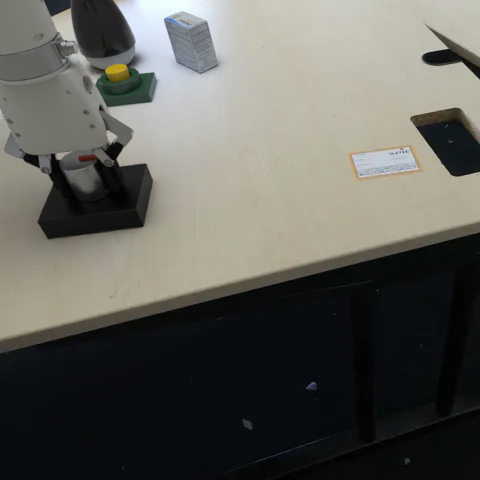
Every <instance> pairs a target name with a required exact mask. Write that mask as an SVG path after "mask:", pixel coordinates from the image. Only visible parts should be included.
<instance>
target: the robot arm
mask: <svg viewBox="0 0 480 480" xmlns="http://www.w3.org/2000/svg"><path fill="white" fill-rule="evenodd" d="M79 52H80V51H79V48H78V46H77V42H76V40H68V39H64V38H63V37H62V34H61V32H60V31H58V29H57V27H56V25H55V23H54V21H53V18H52V15H51V14H50V11H49V9H48V7H47V4H46V3H45V0H0V111H1V113H2V116H3V118H4V120H5V123H6V125H7V127H8V129H9V131H10V133H9V135H8V137H7V140H6V142H5V144H4V148H3V152H4V153H5V154H7V155H8V156H9V155H10V156H11V157H15V158H17V159H20V160H23V162H24V163H27V164H29V165H31V166H33V167H35V168H37V169H39V170H40V173H42V174H44V175H48V177H49V179H50V181H51V182H52V185H53V184H54V186H55V188H56V189H57V190H59V191H60V193H61V194H62V196H63V198H64V199H68V198H70V197H71V194H72V192H73V191H72V189H71V188H70V186H69V184H68V182H67V180H66V178H65V176H64V175H63V173H62V171H61V169H60V167H59V162H60V160H61V159H58V157H57V154H61V153H70V152H72V151H79V150H87V149H90V150H91V151H92V152H93V153H94V154H95V155H96V156H97V158H98V159H99V160H100V161H101V162H102V163H103V165H102V168H101V169H102V172H103V174H104V176H105V179H106V181H107V183H108V185H109V187H110V189H111V191H112V192H114V193H115V192H118V191H119V187H120V184H121V182H123V179H124V176H123V173H122V170H121V168H120V166H121V165H120V164H119V161H118V157H119V156H120V154H121V153H122V152H123V149H124V148H125V147H127V145H128V144H129V143H130V141H132V139H133V136H134V133H135V132H134V129H133V128H131V127H129V126H128V125H126V124H125V123H124V122H121V121H120V120H118V119H117V118H115V117H114V116H112V114H111V112H110V110H109V107H107V106H106V104H105V102H104V100H103V98H102V96H101V94H100V93H99V91H98V89H97V87H96V85H95V84H96V83H95V81H93V78H92V77H91V75H90V74H89V72H88V71H87V69H86V68H85V66H84V64H83V63H82V61H80V59H79V58H78V57H77V56H74V55H77V54H79ZM108 131H109V132H110V133H112V134H113V135H115V136H116V137H115V138H114V139H113V140H112V142H111V141H110V140H109V138H108V135H107V134H108Z"/></svg>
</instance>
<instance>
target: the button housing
mask: <svg viewBox="0 0 480 480" xmlns="http://www.w3.org/2000/svg"><path fill="white" fill-rule="evenodd" d="M127 68H128V71H129V73H130V77H129V78H128V79H126V80H123V81H119V82H110V81H109V79H108V77H107V74H106V72H104V73H102V74H101V75H100V77H98V78H97V79H96V82H95V83H94V84H95V85H96V87H97V89H98V91H99V93H100V94H101V96H102V98H103V100H104V102H105V104H106V106H107V108H111V107H118V106H119V107H120V106H128V105H129V106H130V105H137V104H146V103H152V102H153V97H154V95H155V91H156V86H157V82H158V79H157V76H156V73H155V72H154V71H152V72H151V71H150V72H143V73H140V72H139V70H137V68H135V67H129V66H127Z"/></svg>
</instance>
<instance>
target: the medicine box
mask: <svg viewBox="0 0 480 480" xmlns="http://www.w3.org/2000/svg"><path fill="white" fill-rule="evenodd" d="M163 22H164V25H165V29H166V32H167V36H168V39H169V42H170V45H171V49H172V52H173V55H174V58H175V61H176V63H178V64H180V65H182V66H184V67H187V68H188V69H191V70H193V71H195V72H197V73H199V74H202V73H205V72H207V71H209V70H211V69H213V68H214V67H217V66H218V65H219V60H218V57H217V55H216V54H217V53H216V50H215V46H214V41H213V38H212V34H211V30H210V25H209V23H208V20H206V19H204V18H202V17H199V16H196V15H194V14H191V13H189V12H186V11H184V10H182V11H179V12H175V13H172V14H171V15H168V16H166V17H164V18H163Z"/></svg>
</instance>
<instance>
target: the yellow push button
mask: <svg viewBox="0 0 480 480" xmlns="http://www.w3.org/2000/svg"><path fill="white" fill-rule="evenodd" d="M127 67H128V66H127V65H125V64H115V65H112V66H109V67H108V68H106V70H104V73H106V74H107V77H108V79H109V81H110V82H119V81H123V80H126V79H128V78H129V77H130V73H129V71H128V68H127Z"/></svg>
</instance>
